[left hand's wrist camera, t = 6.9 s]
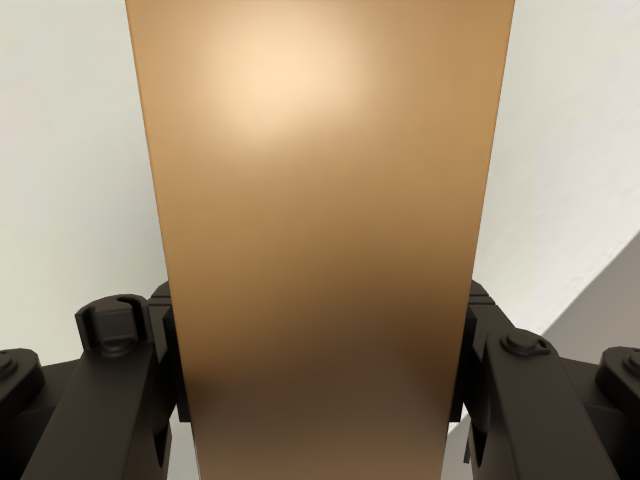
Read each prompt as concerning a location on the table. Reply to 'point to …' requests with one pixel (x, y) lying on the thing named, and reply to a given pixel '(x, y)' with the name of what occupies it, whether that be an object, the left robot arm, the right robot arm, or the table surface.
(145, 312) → the left robot arm
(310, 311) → the bar
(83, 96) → the table surface
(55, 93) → the table surface
